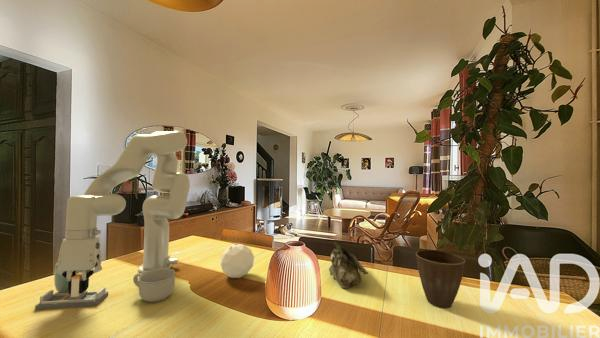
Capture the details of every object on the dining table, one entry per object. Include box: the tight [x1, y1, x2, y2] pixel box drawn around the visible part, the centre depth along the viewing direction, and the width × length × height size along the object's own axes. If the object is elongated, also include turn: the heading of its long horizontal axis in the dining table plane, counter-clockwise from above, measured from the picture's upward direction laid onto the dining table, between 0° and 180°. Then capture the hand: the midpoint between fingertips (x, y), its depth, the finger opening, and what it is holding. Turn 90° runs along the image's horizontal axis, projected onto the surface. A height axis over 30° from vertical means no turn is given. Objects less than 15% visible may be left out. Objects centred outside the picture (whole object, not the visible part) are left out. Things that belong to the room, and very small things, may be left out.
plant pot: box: [415, 249, 466, 309], centre depth 87 cm, size 15×15×16 cm
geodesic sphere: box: [220, 242, 255, 279], centre depth 104 cm, size 14×14×14 cm
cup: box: [53, 262, 82, 293], centre depth 88 cm, size 8×8×10 cm
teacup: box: [132, 268, 176, 303], centre depth 85 cm, size 14×11×8 cm
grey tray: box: [34, 287, 109, 311], centre depth 81 cm, size 16×7×3 cm, turn 102°
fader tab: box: [69, 272, 89, 300], centre depth 81 cm, size 3×4×7 cm
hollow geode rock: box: [328, 240, 369, 289], centre depth 108 cm, size 28×13×15 cm
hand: (78, 291), depth 81 cm, fingers closed on fader tab, 2 cm apart
